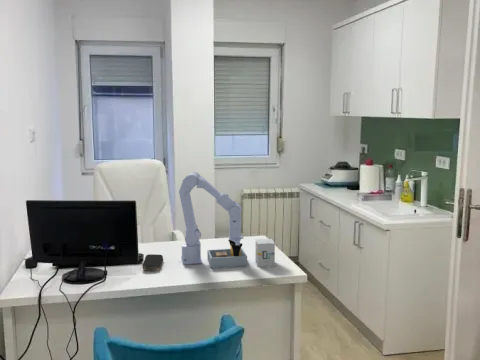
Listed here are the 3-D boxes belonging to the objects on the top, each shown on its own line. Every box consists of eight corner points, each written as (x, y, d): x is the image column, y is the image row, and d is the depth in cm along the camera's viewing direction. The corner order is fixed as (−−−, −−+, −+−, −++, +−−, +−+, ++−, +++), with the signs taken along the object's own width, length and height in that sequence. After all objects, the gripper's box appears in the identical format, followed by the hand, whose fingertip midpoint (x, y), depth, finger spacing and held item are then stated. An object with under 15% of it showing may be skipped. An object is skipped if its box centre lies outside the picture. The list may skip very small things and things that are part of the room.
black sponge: (146, 261, 244) (146, 254, 243) (163, 260, 244) (163, 253, 243) (141, 272, 227) (141, 265, 227) (160, 272, 228) (159, 264, 227)
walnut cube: (217, 265, 234) (216, 255, 233) (215, 262, 239) (215, 252, 238) (227, 264, 235) (227, 254, 234) (225, 261, 240) (225, 251, 239)
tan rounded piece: (241, 260, 237) (241, 246, 236) (231, 261, 237) (231, 247, 236) (240, 257, 242) (240, 244, 241) (230, 258, 242) (230, 244, 241)
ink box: (255, 261, 242) (255, 238, 240) (272, 261, 243) (272, 238, 241) (257, 267, 234) (257, 243, 232) (274, 266, 234) (275, 243, 233)
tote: (210, 268, 232) (210, 258, 231) (207, 259, 245) (207, 249, 244) (247, 266, 235) (247, 256, 234) (242, 257, 248) (242, 248, 247)
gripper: (246, 231, 231) (246, 259, 233) (240, 224, 245) (240, 250, 247) (231, 232, 229) (231, 260, 231) (226, 225, 243) (226, 251, 246)
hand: (235, 255), depth 239 cm, fingers closed on tan rounded piece, 5 cm apart
